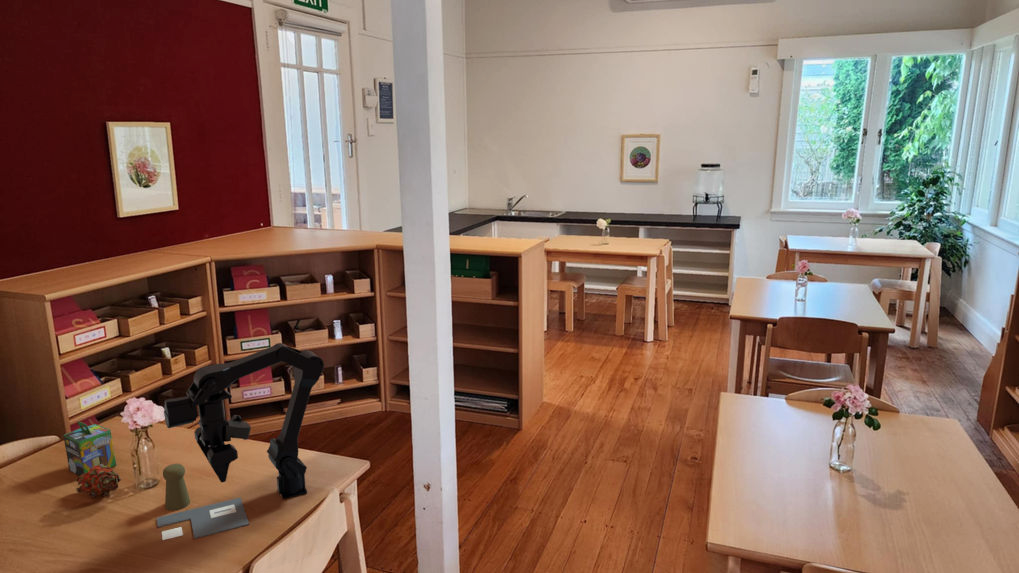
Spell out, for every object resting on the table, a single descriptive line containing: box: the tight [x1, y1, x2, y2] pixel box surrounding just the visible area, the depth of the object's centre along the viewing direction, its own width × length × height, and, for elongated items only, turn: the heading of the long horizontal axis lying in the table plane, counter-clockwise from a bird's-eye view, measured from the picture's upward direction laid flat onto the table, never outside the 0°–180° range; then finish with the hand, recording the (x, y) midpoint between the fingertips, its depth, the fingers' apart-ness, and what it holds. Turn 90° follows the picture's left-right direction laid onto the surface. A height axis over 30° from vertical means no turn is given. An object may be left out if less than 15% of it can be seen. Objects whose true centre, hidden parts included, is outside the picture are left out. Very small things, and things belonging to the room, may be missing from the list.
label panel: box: [156, 497, 250, 541], centre depth 169 cm, size 20×14×1 cm
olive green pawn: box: [162, 463, 191, 511], centre depth 175 cm, size 6×6×11 cm
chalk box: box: [62, 420, 117, 477], centre depth 193 cm, size 9×9×15 cm
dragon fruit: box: [73, 465, 122, 498], centre depth 181 cm, size 8×8×12 cm
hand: (218, 474), depth 170 cm, fingers open, 9 cm apart
